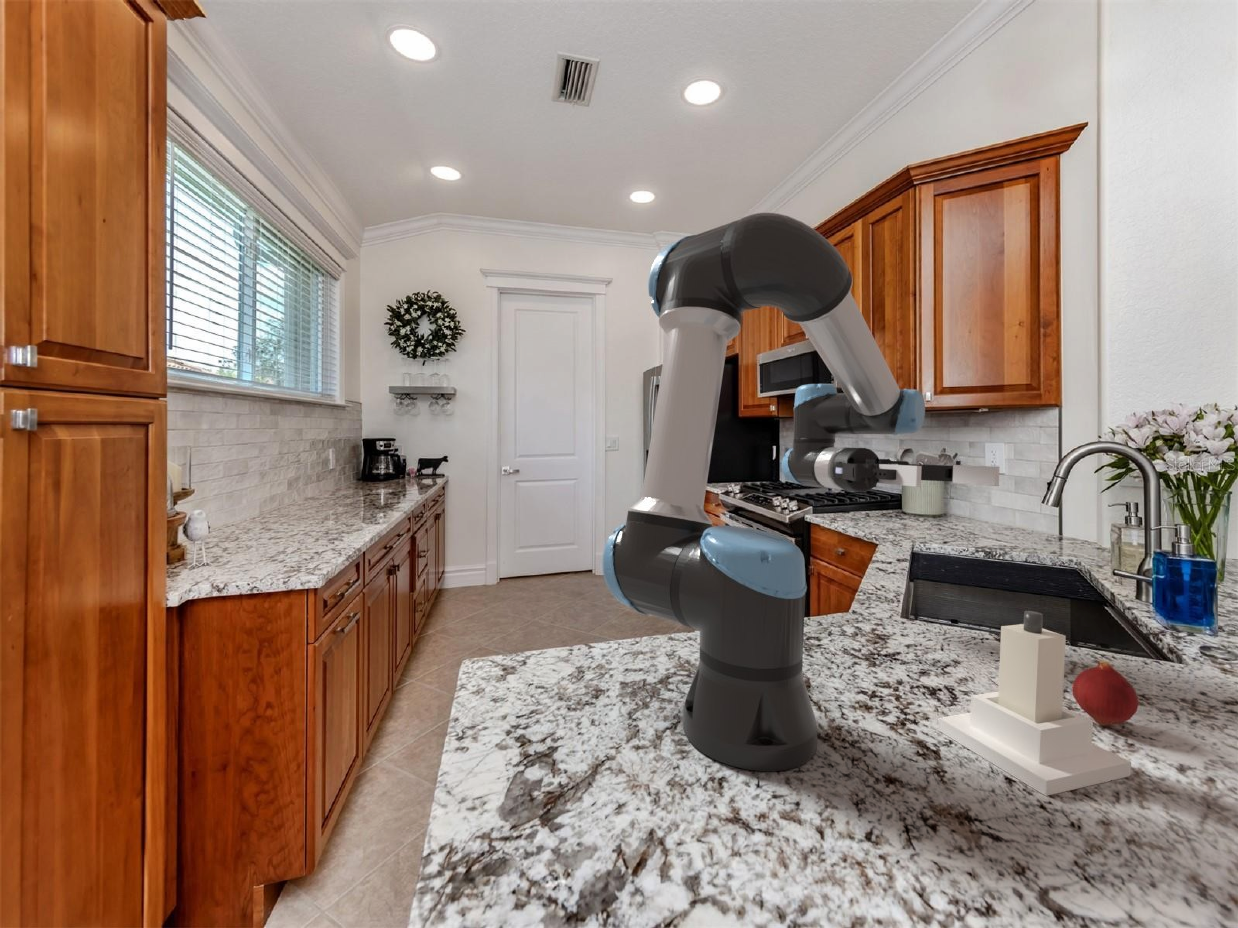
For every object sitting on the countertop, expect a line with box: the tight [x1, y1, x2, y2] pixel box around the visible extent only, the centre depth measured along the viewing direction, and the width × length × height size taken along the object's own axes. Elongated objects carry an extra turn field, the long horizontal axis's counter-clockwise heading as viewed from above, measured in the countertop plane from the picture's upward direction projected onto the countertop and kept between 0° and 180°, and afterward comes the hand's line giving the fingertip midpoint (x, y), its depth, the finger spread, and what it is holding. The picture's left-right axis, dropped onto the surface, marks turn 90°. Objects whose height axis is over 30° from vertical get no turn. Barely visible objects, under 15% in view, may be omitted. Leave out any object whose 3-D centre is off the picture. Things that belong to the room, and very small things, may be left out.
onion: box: [1071, 660, 1139, 727], centre depth 63 cm, size 6×6×8 cm
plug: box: [998, 610, 1067, 724], centre depth 57 cm, size 4×4×14 cm
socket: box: [937, 691, 1132, 797], centre depth 57 cm, size 12×12×5 cm
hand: (959, 476), depth 70 cm, fingers open, 13 cm apart
